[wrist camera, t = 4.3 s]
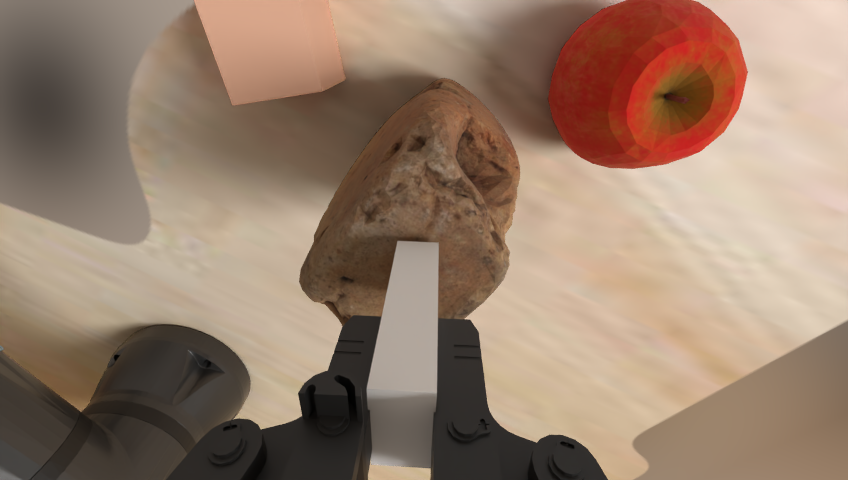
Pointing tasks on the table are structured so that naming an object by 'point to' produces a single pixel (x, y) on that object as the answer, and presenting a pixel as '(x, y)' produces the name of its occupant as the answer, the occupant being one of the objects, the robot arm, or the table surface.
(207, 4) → the terracotta block
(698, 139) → the apple
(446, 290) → the brown long irregular lump
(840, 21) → the table surface
